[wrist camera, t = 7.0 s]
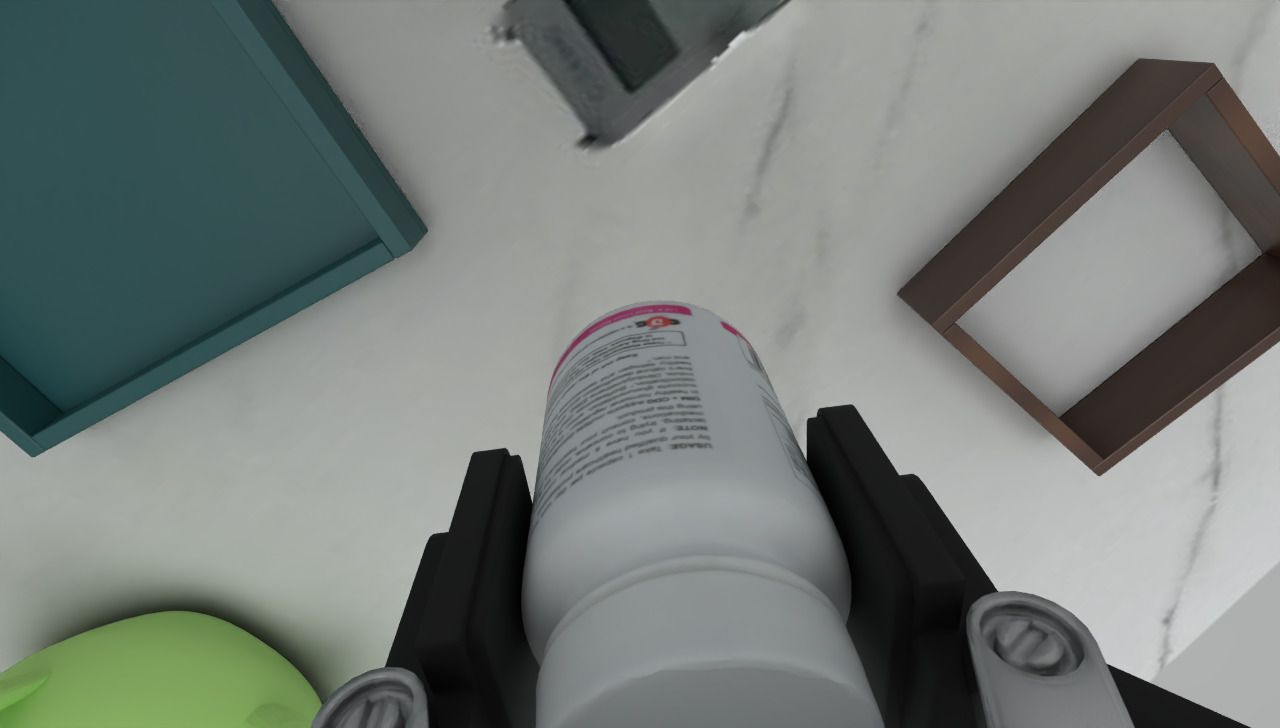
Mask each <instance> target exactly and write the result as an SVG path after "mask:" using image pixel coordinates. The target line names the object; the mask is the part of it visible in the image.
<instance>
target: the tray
mask: <svg viewBox="0 0 1280 728" xmlns="http://www.w3.org/2000/svg"><path fill="white" fill-rule="evenodd" d="M427 232H428V230H427V228H426V227H425V225H424V224H423V222H422V221H421V219H420V218H419V217H418V215H417V214H416V212H415V211H414V209H413V208H412V206H411V205H410V203H409V202H408V200H407V199H406V198H405V196H404V195H403V193H402V192H401V190H400V189H399V187H398V186H397V184H396V183H395V181H394V180H393V179H392V177H391V176H390V174H389V173H388V171H387V170H386V168H385V167H384V165H383V164H382V162H381V161H380V160H379V158H378V157H377V155H376V154H375V152H374V151H373V149H372V148H371V146H370V145H369V143H368V142H367V140H366V139H365V138H364V136H363V135H362V133H361V132H360V130H359V129H358V127H357V126H356V124H355V123H354V121H353V120H352V119H351V117H350V116H349V114H348V113H347V111H346V110H345V108H344V107H343V105H342V104H341V102H340V101H339V100H338V98H337V97H336V95H335V94H334V92H333V91H332V89H331V88H330V86H329V85H328V83H327V82H326V81H325V79H324V78H323V76H322V75H321V73H320V72H319V70H318V69H317V67H316V66H315V64H314V63H313V62H312V60H311V59H310V57H309V56H308V54H307V53H306V51H305V50H304V48H303V47H302V45H301V44H300V43H299V41H298V40H297V38H296V37H295V35H294V34H293V32H292V31H291V29H290V28H289V26H288V25H287V24H286V22H285V21H284V19H283V18H282V16H281V15H280V13H279V12H278V10H277V9H276V7H275V6H274V4H273V3H272V2H271V0H0V431H1V432H2V433H4V434H5V435H6V436H7V437H8V438H10V439H11V440H12V441H13V442H14V443H15V444H17V445H18V446H19V447H20V448H21V449H22V450H24V451H25V452H26V453H27V454H28V455H30V456H31V457H36V456H37V455H39V454H41V453H43V452H45V451H46V450H48V449H50V448H52V447H54V446H56V445H58V444H59V443H61V442H63V441H65V440H67V439H68V438H70V437H72V436H74V435H76V434H78V433H79V432H81V431H83V430H85V429H87V428H88V427H90V426H92V425H94V424H96V423H98V422H99V421H101V420H103V419H105V418H107V417H109V416H110V415H112V414H114V413H116V412H118V411H119V410H121V409H123V408H125V407H127V406H129V405H130V404H132V403H134V402H136V401H138V400H139V399H141V398H143V397H145V396H147V395H149V394H150V393H152V392H154V391H156V390H158V389H160V388H161V387H163V386H165V385H167V384H169V383H170V382H172V381H174V380H176V379H178V378H180V377H181V376H183V375H185V374H187V373H189V372H190V371H192V370H194V369H196V368H198V367H200V366H201V365H203V364H205V363H207V362H209V361H210V360H212V359H214V358H216V357H218V356H220V355H221V354H223V353H225V352H227V351H229V350H231V349H232V348H234V347H236V346H238V345H240V344H241V343H243V342H245V341H247V340H249V339H251V338H252V337H254V336H256V335H258V334H260V333H261V332H263V331H265V330H267V329H269V328H271V327H272V326H274V325H276V324H278V323H280V322H282V321H283V320H285V319H287V318H289V317H291V316H292V315H294V314H296V313H298V312H300V311H302V310H303V309H305V308H307V307H309V306H311V305H312V304H314V303H316V302H318V301H320V300H322V299H323V298H325V297H327V296H329V295H331V294H333V293H334V292H336V291H338V290H340V289H342V288H343V287H345V286H347V285H349V284H351V283H353V282H354V281H356V280H358V279H360V278H362V277H363V276H365V275H367V274H369V273H371V272H373V271H374V270H376V269H378V268H380V267H382V266H383V265H385V264H387V263H389V262H391V261H393V260H394V259H395V258H398V257H400V256H402V255H404V254H406V253H407V252H409V251H411V250H412V249H413V248H414V247H415V246H416V245H417V243H418V242H419V241H420V240H421V239H422V238H423V236H424V235H425V234H426V233H427Z"/></svg>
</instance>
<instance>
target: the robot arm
mask: <svg viewBox="0 0 1280 728" xmlns="http://www.w3.org/2000/svg"><path fill="white" fill-rule="evenodd" d="M807 464H808V466H809V468H810V470H811V472H812V475H813V477H814V479H815V481H816V483H817V486H818V488H819V491H820V493H821V495H822V497H823V499H824V501H825V503H826V505H827V508H828V511H829V513H830V515H831V517H832V520H833V522H834V524H835V527H836V529H837V531H838V533H839V536H840V538H841V540H842V544H843V547H844V550H845V553H846V556H847V560H848V564H849V568H850V574H851V582H852V597H851V606H850V612H849V616H848V619H847V623H846V628H847V631H848V633H849V635H850V637H851V639H852V642H853V644H854V646H855V649H856V651H857V653H858V656H859V658H860V660H861V663H862V665H863V668H864V671H865V674H866V676H867V679H868V682H869V685H870V687H871V690H872V693H873V695H874V698H875V700H876V703H877V705H878V708H879V710H880V714H881V717H882V720H883V723H884V726H885V728H1250V727H1248V726H1246V725H1243V724H1241V723H1239V722H1237V721H1234V720H1232V719H1230V718H1228V717H1226V716H1223V715H1221V714H1219V713H1217V712H1214V711H1212V710H1210V709H1208V708H1205V707H1203V706H1201V705H1199V704H1196V703H1194V702H1192V701H1190V700H1187V699H1185V698H1183V697H1181V696H1178V695H1176V694H1174V693H1171V692H1169V691H1167V690H1165V689H1163V688H1160V687H1158V686H1156V685H1154V684H1151V683H1149V682H1147V681H1145V680H1142V679H1140V678H1138V677H1136V676H1133V675H1131V674H1129V673H1127V672H1124V671H1122V670H1120V669H1118V668H1115V667H1113V666H1111V665H1108V664H1106V662H1105V660H1104V657H1103V655H1102V653H1101V651H1100V648H1099V646H1098V644H1097V642H1096V640H1095V639H1094V637H1093V636H1092V634H1091V633H1090V631H1089V629H1088V628H1087V627H1086V626H1085V625H1084V624H1083V623H1082V622H1081V621H1080V620H1079V619H1078V618H1077V617H1076V616H1075V615H1073V614H1072V613H1071V612H1069V611H1068V610H1066V609H1064V608H1063V607H1061V606H1059V605H1058V604H1056V603H1054V602H1052V601H1050V600H1047V599H1044V598H1042V597H1039V596H1036V595H1033V594H1028V593H1022V592H1017V591H1004V592H998V591H997V589H996V588H995V586H994V585H993V583H992V582H991V580H990V579H989V577H988V576H987V575H986V573H985V572H984V570H983V569H982V567H981V566H980V564H979V563H978V561H977V560H976V559H975V557H974V556H973V554H972V553H971V551H970V550H969V548H968V547H967V546H966V544H965V543H964V541H963V540H962V538H961V537H960V535H959V534H958V532H957V531H956V530H955V528H954V527H953V525H952V524H951V522H950V521H949V519H948V518H947V516H946V515H945V514H944V512H943V511H942V509H941V508H940V506H939V505H938V503H937V502H936V501H935V499H934V498H933V496H932V495H931V493H930V492H929V490H928V489H927V487H926V486H925V485H924V483H923V482H922V481H921V480H920V478H919V477H918V476H916V475H914V474H908V475H900V476H899V474H898V473H897V471H896V470H895V468H894V467H893V465H892V463H891V462H890V460H889V459H888V457H887V456H886V454H885V453H884V451H883V450H882V448H881V446H880V445H879V443H878V442H877V440H876V439H875V437H874V436H873V434H872V433H871V431H870V429H869V428H868V426H867V425H866V423H865V422H864V420H863V419H862V417H861V416H860V414H859V412H858V411H857V409H856V408H855V407H854V406H853V405H851V404H850V405H842V406H834V407H826V408H820V409H819V410H818V412H817V417H814V418H808V420H807ZM532 506H533V504H532V500H531V496H530V492H529V488H528V484H527V480H526V476H525V472H524V468H523V463H522V460H521V457H520V456H519V455H514V456H510V454H509V452H508V450H507V449H506V448H502V449H495V450H487V451H479V452H474V453H473V454H472V456H471V459H470V463H469V466H468V469H467V473H466V476H465V479H464V483H463V486H462V489H461V493H460V496H459V499H458V503H457V506H456V509H455V512H454V516H453V519H452V522H451V526H450V529H449V532H445V533H437V534H433V535H432V536H431V537H430V538H429V540H428V542H427V544H426V547H425V550H424V553H423V556H422V559H421V562H420V565H419V567H418V570H417V573H416V576H415V579H414V582H413V585H412V588H411V591H410V594H409V597H408V600H407V603H406V606H405V609H404V612H403V615H402V618H401V621H400V624H399V627H398V630H397V633H396V636H395V639H394V642H393V645H392V647H391V650H390V653H389V656H388V659H387V662H386V665H385V667H384V668H379V669H375V670H370V671H368V672H366V673H364V674H361V675H359V676H357V677H355V678H353V679H351V680H350V681H348V682H347V683H346V684H344V685H343V686H342V687H340V688H339V689H337V690H336V691H335V692H334V693H333V694H332V695H331V696H330V697H329V698H328V699H327V701H326V702H325V703H324V704H323V705H322V706H321V708H320V710H319V711H318V713H317V714H316V716H315V718H314V719H313V721H312V724H311V727H310V728H536V686H537V680H538V675H539V671H540V668H541V667H540V665H539V664H538V662H537V660H536V659H535V657H534V655H533V653H532V651H531V648H530V645H529V643H528V640H527V637H526V634H525V631H524V627H523V620H522V611H521V591H522V579H523V569H524V562H525V556H526V549H527V541H528V534H529V528H530V519H531V514H532Z"/></svg>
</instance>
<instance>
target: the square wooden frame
mask: <svg viewBox="0 0 1280 728" xmlns="http://www.w3.org/2000/svg"><path fill="white" fill-rule="evenodd" d="M1167 128H1168V129H1169V130H1170V132H1171V133H1172V134H1173V136H1174V137H1175V138H1176V139H1177V141H1178V142H1179V143H1180V145H1181V146H1182V147H1183V148H1184V150H1185V151H1186V152H1187V154H1188V155H1189V156H1190V158H1191V159H1192V160H1193V161H1194V163H1195V164H1196V165H1197V167H1198V168H1199V169H1200V170H1201V172H1202V173H1203V174H1204V176H1205V177H1206V178H1207V180H1208V181H1209V182H1210V183H1211V185H1212V186H1213V187H1214V189H1215V190H1216V191H1217V193H1218V194H1219V195H1220V196H1221V198H1222V199H1223V200H1224V202H1225V203H1226V204H1227V205H1228V207H1229V208H1230V209H1231V211H1232V212H1233V213H1234V215H1235V216H1236V217H1237V218H1238V220H1239V221H1240V222H1241V224H1242V225H1243V226H1244V227H1245V229H1246V230H1247V231H1248V233H1249V234H1250V235H1251V237H1252V238H1253V239H1254V240H1255V242H1256V243H1257V244H1258V246H1259V247H1260V248H1261V249H1262V251H1263V252H1264V253H1265V254H1264V255H1262V256H1261V257H1260V258H1259V259H1257V260H1256V261H1255V262H1254V263H1252V264H1251V265H1250V266H1249V267H1247V268H1246V269H1245V270H1244V271H1242V272H1241V273H1240V274H1239V275H1237V276H1236V277H1235V278H1234V279H1232V280H1231V281H1230V282H1229V283H1227V284H1226V285H1225V286H1224V287H1222V288H1221V289H1220V290H1219V291H1218V292H1216V293H1215V294H1214V295H1213V296H1211V297H1210V298H1209V299H1208V300H1206V301H1205V302H1204V303H1203V304H1201V305H1200V306H1199V307H1198V308H1196V309H1195V310H1194V311H1193V312H1191V313H1190V314H1189V315H1188V316H1186V317H1185V318H1184V319H1183V320H1181V321H1180V322H1179V323H1178V324H1176V325H1175V326H1174V327H1173V328H1171V329H1170V330H1169V331H1168V332H1166V333H1165V334H1164V335H1163V336H1161V337H1160V338H1159V339H1158V340H1157V341H1155V342H1154V343H1153V344H1152V345H1150V346H1149V347H1148V348H1147V349H1145V350H1144V351H1143V352H1142V353H1140V354H1139V355H1138V356H1137V357H1135V358H1134V359H1133V360H1132V361H1130V362H1129V363H1128V364H1127V365H1125V366H1124V367H1123V368H1122V369H1120V370H1119V371H1118V372H1117V373H1115V374H1114V375H1113V376H1112V377H1110V378H1109V379H1108V380H1107V381H1105V382H1104V383H1103V384H1102V385H1100V386H1099V387H1098V388H1097V389H1096V390H1094V391H1093V392H1092V393H1091V394H1089V395H1088V396H1087V397H1086V398H1084V399H1083V400H1082V401H1081V402H1079V403H1078V404H1077V405H1076V406H1074V407H1073V408H1072V409H1071V410H1069V411H1068V412H1067V413H1066V414H1064V415H1063V416H1062V417H1061V418H1058V417H1057V416H1056V415H1055V414H1054V413H1053V412H1052V411H1051V410H1050V409H1048V408H1047V407H1046V406H1045V405H1044V404H1043V403H1042V402H1041V401H1040V400H1039V399H1038V398H1037V397H1035V396H1034V395H1033V394H1032V393H1031V392H1030V391H1029V390H1028V389H1027V388H1026V387H1025V386H1023V385H1022V384H1021V383H1020V382H1019V381H1018V380H1017V379H1016V378H1015V377H1014V376H1013V375H1012V374H1010V373H1009V372H1008V371H1007V370H1006V369H1005V368H1004V367H1003V366H1002V365H1001V364H1000V363H999V362H997V361H996V360H995V359H994V358H993V357H992V356H991V355H990V354H989V353H988V352H987V351H985V350H984V349H983V348H982V347H981V346H980V345H979V344H978V343H977V342H976V341H975V340H974V339H972V338H971V337H970V336H969V335H968V334H967V333H966V332H965V331H964V330H963V329H962V328H960V327H959V326H958V325H957V324H956V323H955V322H956V321H957V320H958V319H959V318H960V317H961V316H962V315H963V314H964V313H966V312H967V311H968V310H969V309H970V308H971V307H972V306H973V305H974V304H975V303H976V302H978V301H979V300H980V299H981V298H982V297H983V296H984V295H985V294H986V293H987V292H988V291H990V290H991V289H992V288H993V287H994V286H995V285H996V284H997V283H998V282H999V281H1000V280H1002V279H1003V278H1004V277H1005V276H1006V275H1007V274H1008V273H1009V272H1010V271H1011V270H1012V269H1014V268H1015V267H1016V266H1017V265H1018V264H1019V263H1020V262H1021V261H1022V260H1023V259H1024V258H1026V257H1027V256H1028V255H1029V254H1030V253H1031V252H1032V251H1033V250H1034V249H1035V248H1037V247H1038V246H1039V245H1040V244H1041V243H1042V242H1043V241H1044V240H1045V239H1046V238H1047V237H1049V236H1050V235H1051V234H1052V233H1053V232H1054V231H1055V230H1056V229H1057V228H1058V227H1059V226H1061V225H1062V224H1063V223H1064V222H1065V221H1066V220H1067V219H1068V218H1069V217H1070V216H1071V215H1073V214H1074V213H1075V212H1076V211H1077V210H1078V209H1079V208H1080V207H1081V206H1082V205H1083V204H1085V203H1086V202H1087V201H1088V200H1089V199H1090V198H1091V197H1092V196H1093V195H1094V194H1095V193H1097V192H1098V191H1099V190H1100V189H1101V188H1102V187H1103V186H1104V185H1105V184H1106V183H1108V182H1109V181H1110V180H1111V179H1112V178H1113V177H1114V176H1115V175H1116V174H1117V173H1118V172H1120V171H1121V170H1122V169H1123V168H1124V167H1125V166H1126V165H1127V164H1128V163H1129V162H1130V161H1132V160H1133V159H1134V158H1135V157H1136V156H1137V155H1138V154H1139V153H1140V152H1141V151H1142V150H1144V149H1145V148H1146V147H1147V146H1148V145H1149V144H1150V143H1151V142H1152V141H1153V140H1154V139H1156V138H1157V137H1158V136H1159V135H1160V134H1161V133H1162V132H1163V131H1164V130H1165V129H1167ZM897 295H898V296H899V297H900V298H901V299H902V300H904V301H905V302H906V303H907V304H908V305H909V306H910V307H911V308H912V309H913V310H915V311H916V312H917V313H918V314H919V315H920V316H921V317H922V318H923V319H924V320H925V321H927V322H928V323H929V324H930V325H931V326H932V327H933V328H934V329H935V330H936V331H938V332H939V333H940V334H941V335H942V336H943V337H944V338H945V339H946V340H948V341H949V342H950V343H951V344H952V345H953V346H954V347H955V348H956V349H958V350H959V351H960V352H961V353H962V354H963V355H964V356H965V357H966V358H968V359H969V360H970V361H971V362H972V363H973V364H974V365H975V366H976V367H978V368H979V369H980V370H981V371H982V372H983V373H984V374H985V375H986V376H988V377H989V378H990V379H991V380H992V381H993V382H994V383H995V384H996V385H997V386H999V387H1000V388H1001V389H1002V390H1003V391H1004V392H1005V393H1006V394H1007V395H1009V396H1010V397H1011V398H1012V399H1013V400H1014V401H1015V402H1016V403H1017V404H1019V405H1020V406H1021V407H1022V408H1023V409H1024V410H1025V411H1026V412H1027V413H1029V414H1030V415H1031V416H1032V417H1033V418H1034V419H1035V420H1036V421H1037V422H1039V423H1040V424H1041V425H1042V426H1043V427H1044V428H1045V429H1046V430H1047V431H1049V432H1050V433H1051V434H1052V435H1053V436H1054V437H1055V438H1056V439H1057V440H1059V441H1060V442H1061V443H1062V444H1063V445H1064V446H1065V447H1066V448H1067V449H1069V450H1070V451H1071V452H1072V453H1073V454H1074V455H1075V456H1076V457H1077V458H1079V459H1080V460H1081V461H1082V462H1083V463H1084V464H1085V465H1086V466H1087V467H1089V468H1090V469H1091V470H1092V471H1093V472H1094V473H1095V474H1096V475H1097V476H1101V475H1102V474H1104V473H1105V472H1106V471H1108V470H1109V469H1110V468H1112V467H1113V466H1114V465H1116V464H1117V463H1118V462H1120V461H1121V460H1122V459H1124V458H1125V457H1126V456H1128V455H1129V454H1130V453H1132V452H1133V451H1134V450H1136V449H1137V448H1138V447H1140V446H1141V445H1142V444H1144V443H1145V442H1146V441H1148V440H1149V439H1150V438H1152V437H1153V436H1154V435H1156V434H1157V433H1158V432H1160V431H1161V430H1162V429H1164V428H1165V427H1166V426H1168V425H1169V424H1170V423H1172V422H1173V421H1174V420H1176V419H1177V418H1178V417H1180V416H1181V415H1182V414H1184V413H1185V412H1186V411H1188V410H1189V409H1190V408H1192V407H1193V406H1194V405H1196V404H1197V403H1198V402H1200V401H1201V400H1202V399H1204V398H1205V397H1206V396H1208V395H1209V394H1210V393H1211V392H1213V391H1214V390H1215V389H1217V388H1218V387H1219V386H1221V385H1222V384H1223V383H1225V382H1226V381H1227V380H1229V379H1230V378H1231V377H1233V376H1234V375H1235V374H1237V373H1238V372H1239V371H1241V370H1242V369H1243V368H1245V367H1246V366H1247V365H1249V364H1250V363H1251V362H1253V361H1254V360H1255V359H1257V358H1258V357H1259V356H1261V355H1262V354H1263V353H1265V352H1266V351H1267V350H1269V349H1270V348H1271V347H1273V346H1274V345H1275V344H1277V343H1278V342H1279V341H1280V156H1279V155H1278V154H1277V152H1276V151H1275V149H1274V148H1273V146H1272V145H1271V144H1270V142H1269V141H1268V139H1267V138H1266V137H1265V135H1264V134H1263V132H1262V131H1261V129H1260V128H1259V127H1258V125H1257V124H1256V122H1255V121H1254V120H1253V118H1252V117H1251V115H1250V114H1249V112H1248V111H1247V110H1246V108H1245V107H1244V105H1243V104H1242V102H1241V101H1240V100H1239V98H1238V97H1237V95H1236V94H1235V93H1234V91H1233V90H1232V88H1231V87H1230V85H1229V84H1228V83H1227V81H1226V80H1225V78H1223V75H1222V74H1221V72H1220V71H1219V70H1218V68H1217V67H1216V65H1215V64H1214V63H1206V62H1189V61H1173V60H1157V59H1139V60H1138V61H1137V62H1136V63H1135V64H1134V65H1133V66H1132V67H1131V68H1130V69H1129V70H1128V71H1127V72H1126V73H1125V74H1124V75H1123V76H1121V77H1120V78H1119V79H1118V80H1117V81H1116V82H1115V83H1114V84H1113V85H1112V86H1111V87H1110V88H1109V89H1108V90H1107V91H1106V92H1105V93H1104V94H1103V95H1102V96H1101V97H1100V98H1099V99H1098V100H1097V101H1096V102H1095V103H1094V104H1093V105H1092V106H1091V107H1089V108H1088V109H1087V110H1086V111H1085V112H1084V113H1083V114H1082V115H1081V116H1080V117H1079V118H1078V119H1077V120H1076V121H1075V122H1074V123H1073V124H1072V125H1071V126H1070V127H1069V128H1068V129H1067V130H1066V131H1065V132H1064V133H1063V134H1062V135H1061V136H1060V137H1058V138H1057V139H1056V140H1055V141H1054V142H1053V143H1052V144H1051V145H1050V146H1049V147H1048V148H1047V149H1046V150H1045V151H1044V152H1043V153H1042V154H1041V155H1040V156H1039V157H1038V158H1037V159H1036V160H1035V161H1034V162H1033V163H1032V164H1031V165H1030V166H1029V167H1027V168H1026V169H1025V170H1024V171H1023V172H1022V173H1021V174H1020V175H1019V176H1018V177H1017V178H1016V179H1015V180H1014V181H1013V182H1012V183H1011V184H1010V185H1009V186H1008V187H1007V188H1006V189H1005V190H1004V191H1003V192H1002V193H1001V194H1000V195H999V196H998V197H996V198H995V199H994V200H993V201H992V202H991V203H990V204H989V205H988V206H987V207H986V208H985V209H984V210H983V211H982V212H981V213H980V214H979V215H978V216H977V217H976V218H975V219H974V220H973V221H972V222H971V223H970V224H969V225H968V226H967V227H966V228H964V229H963V230H962V231H961V232H960V233H959V234H958V235H957V236H956V237H955V238H954V239H953V240H952V241H951V242H950V243H949V244H948V245H947V246H946V247H945V248H944V249H943V250H942V251H941V252H940V253H939V254H938V255H937V256H936V257H935V258H933V259H932V260H931V261H930V262H929V263H928V264H927V265H926V266H925V267H924V268H923V269H922V270H921V271H920V272H919V273H918V274H917V275H916V276H915V277H914V278H913V279H912V280H911V281H910V282H909V283H908V284H907V285H906V286H905V287H904V288H902V289H901V290H900V291H899V292H898V293H897Z"/></svg>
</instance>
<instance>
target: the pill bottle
mask: <svg viewBox="0 0 1280 728" xmlns="http://www.w3.org/2000/svg"><path fill="white" fill-rule="evenodd" d="M851 597H852V582H851V574H850V568H849V564H848V560H847V556H846V553H845V550H844V547H843V544H842V540H841V538H840V536H839V533H838V531H837V529H836V527H835V524H834V522H833V520H832V517H831V515H830V513H829V511H828V508H827V505H826V503H825V501H824V499H823V497H822V495H821V493H820V491H819V488H818V486H817V483H816V481H815V479H814V477H813V475H812V472H811V470H810V468H809V466H808V464H807V462H806V459H805V457H804V455H803V453H802V451H801V449H800V447H799V445H798V443H797V440H796V438H795V436H794V434H793V431H792V429H791V427H790V425H789V422H788V420H787V418H786V415H785V413H784V411H783V409H782V407H781V405H780V403H779V400H778V398H777V396H776V394H775V392H774V389H773V387H772V385H771V383H770V381H769V378H768V376H767V374H766V372H765V370H764V367H763V365H762V363H761V361H760V359H759V357H758V356H757V354H756V352H755V351H754V349H753V348H752V346H751V345H750V343H749V342H748V341H747V339H746V338H745V337H744V336H743V335H742V334H741V333H740V332H739V331H738V330H737V329H736V328H735V327H734V326H733V325H732V324H730V323H729V322H727V321H726V320H725V319H723V318H721V317H719V316H718V315H716V314H714V313H712V312H710V311H708V310H706V309H703V308H701V307H698V306H695V305H691V304H687V303H682V302H675V301H649V302H640V303H635V304H631V305H627V306H624V307H620V308H617V309H615V310H613V311H610V312H608V313H606V314H605V315H603V316H601V317H599V318H598V319H596V320H595V321H593V322H592V323H590V324H589V325H588V326H587V327H585V328H584V329H583V330H582V331H581V332H580V333H579V334H578V335H577V336H576V337H575V338H574V339H573V340H572V342H571V343H570V344H569V345H568V347H567V348H566V349H565V351H564V352H563V354H562V356H561V357H560V359H559V361H558V363H557V365H556V367H555V370H554V373H553V375H552V379H551V383H550V387H549V391H548V397H547V405H546V410H545V419H544V426H543V432H542V441H541V448H540V455H539V463H538V470H537V476H536V484H535V492H534V498H533V506H532V514H531V519H530V528H529V534H528V541H527V549H526V556H525V562H524V569H523V579H522V591H521V611H522V620H523V627H524V631H525V634H526V637H527V640H528V643H529V645H530V648H531V651H532V653H533V655H534V657H535V659H536V660H537V662H538V664H539V665H540V667H541V668H540V671H539V675H538V680H537V686H536V728H885V726H884V723H883V720H882V717H881V714H880V710H879V708H878V705H877V703H876V700H875V698H874V695H873V693H872V690H871V687H870V685H869V682H868V679H867V676H866V674H865V671H864V668H863V665H862V663H861V660H860V658H859V656H858V653H857V651H856V649H855V646H854V644H853V642H852V639H851V637H850V635H849V633H848V631H847V628H846V623H847V619H848V616H849V612H850V606H851Z"/></svg>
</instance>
